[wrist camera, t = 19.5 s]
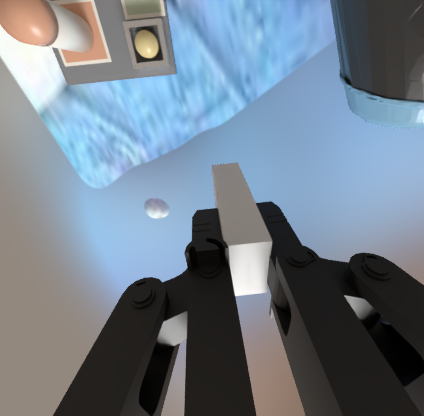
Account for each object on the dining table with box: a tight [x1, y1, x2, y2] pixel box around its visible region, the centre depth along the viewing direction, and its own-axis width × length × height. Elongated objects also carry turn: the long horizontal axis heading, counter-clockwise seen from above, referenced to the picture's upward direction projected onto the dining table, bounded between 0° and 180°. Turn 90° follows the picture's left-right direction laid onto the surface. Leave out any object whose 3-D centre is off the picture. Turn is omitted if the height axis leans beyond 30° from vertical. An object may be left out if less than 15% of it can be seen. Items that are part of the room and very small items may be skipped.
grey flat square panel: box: [50, 0, 176, 85], centre depth 26 cm, size 16×17×1 cm
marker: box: [0, 0, 94, 53], centre depth 23 cm, size 4×4×11 cm
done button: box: [135, 30, 160, 58], centre depth 27 cm, size 3×3×2 cm
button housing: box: [122, 18, 170, 69], centre depth 28 cm, size 5×5×2 cm
